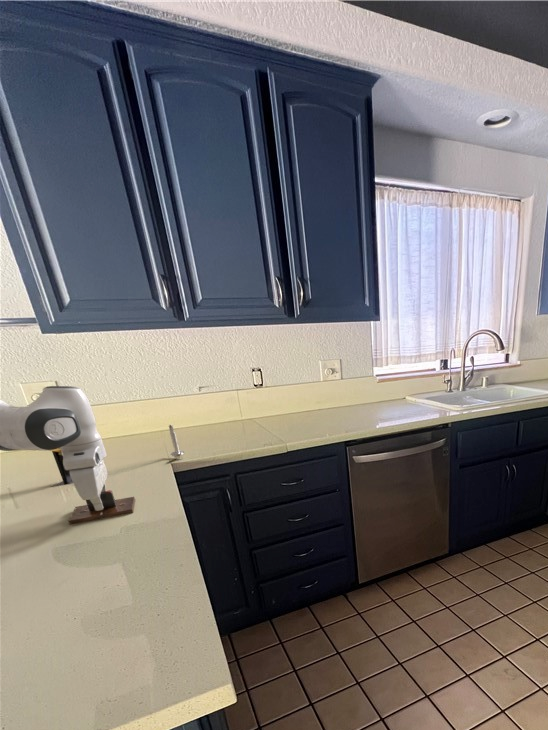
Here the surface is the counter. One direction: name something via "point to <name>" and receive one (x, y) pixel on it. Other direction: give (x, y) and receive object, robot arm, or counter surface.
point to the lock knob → (104, 500)
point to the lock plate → (102, 511)
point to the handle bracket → (62, 470)
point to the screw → (175, 445)
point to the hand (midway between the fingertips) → (102, 503)
